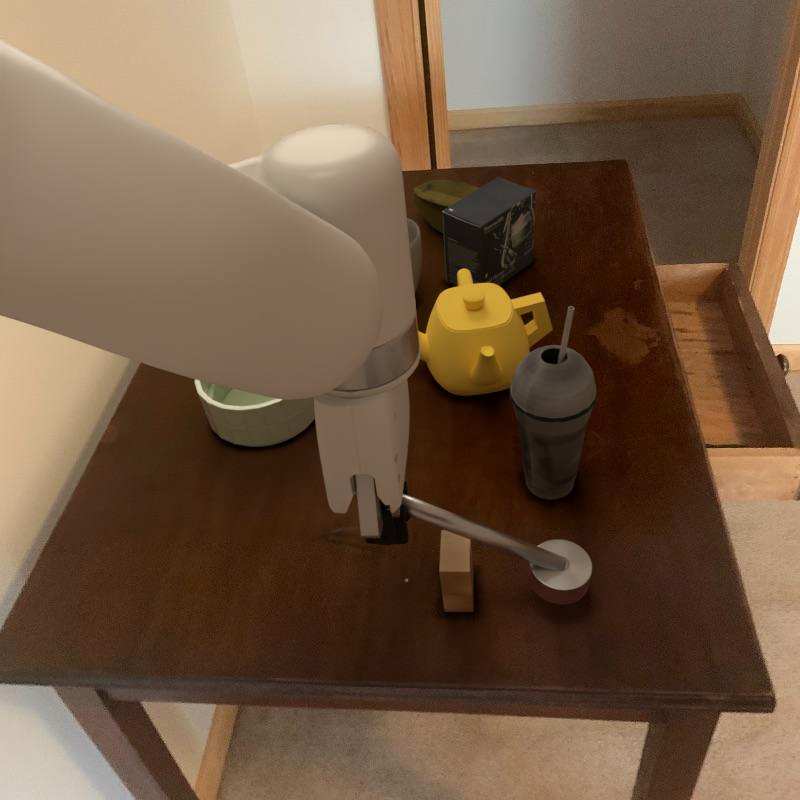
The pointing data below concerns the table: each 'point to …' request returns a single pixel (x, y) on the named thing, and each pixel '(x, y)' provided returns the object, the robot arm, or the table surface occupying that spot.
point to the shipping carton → (456, 572)
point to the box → (490, 233)
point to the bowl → (253, 415)
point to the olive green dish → (439, 198)
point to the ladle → (519, 552)
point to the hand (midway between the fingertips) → (388, 528)
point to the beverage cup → (552, 414)
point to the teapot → (480, 336)
